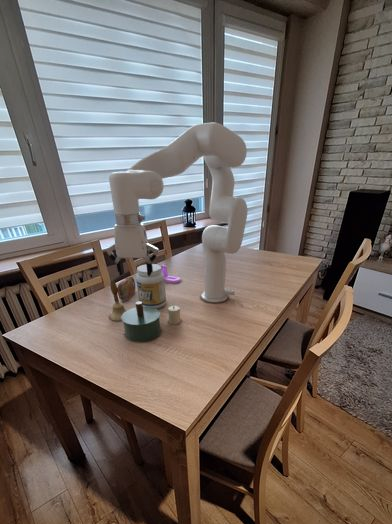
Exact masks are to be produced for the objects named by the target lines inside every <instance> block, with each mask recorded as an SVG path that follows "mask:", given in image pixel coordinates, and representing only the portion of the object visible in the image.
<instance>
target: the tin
mask: <svg viewBox="0 0 392 524" xmlns="http://www.w3.org/2000/svg"><path fill="white" fill-rule="evenodd" d="M117 290H118V292H117V295H118V299H119V300H120V301H126V302H127V301H129V300H130V299H131V298H132V296H133V295H135V292H136V280H135V279H134V277H133V276H127V277H125V278H123V279H122V280H121V281H120V282H119V283H118V285H117Z"/></svg>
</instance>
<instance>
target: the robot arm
mask: <svg viewBox="0 0 392 524" xmlns="http://www.w3.org/2000/svg"><path fill="white" fill-rule="evenodd" d="M247 150H248V149H247V145H246V142H245V141H244V139H243V138H242V137H241V136H240V135H238V134H237V133H235V132H234V131H232V130H231V129H229V128H227V127H226V126H225V125H223V124H221V123H219V122H215V121H213V122H204V123H198V124H197V123H196V124H193V125H192V126H190V127H189V128H187V129H186V130H185V131H184V132H183V133H181V134H179V136H178V137H176V138H175V139H174V140H172V141H171V142H170V143H169V144H167V145H166V146H163V147H161V148H159V149H157V150H156V151H154V152H153V153H151V154H149V155H146V156H144V157H143V158H141V159H140V160H138V161H137V162H136V163H134V164H133V165H132V166H131V167H129V168H128V169H127V170H126V171H113V172H111V173H109V176H108V182H109V188H110V194H111V199H112V206H113V207H112V208H113V212H114V218H115V224H114V229H113V230H114V232H113V233H114V235H113V237H114V244H112V245H111V246H108V247H107V248H106V249H105V251H106V253H107V255H108V256H109V258H110V259H111V260H112V261H114V264H115V265H116V271H117V272H118V273H119V276H123V275H124V273H125V269H124V263H123V261H122V259H144V260H145V262H146V266H147V274H148V276H150V275H151V272H153V268H152V264H153V262H154V260H155V259H156V258H157V256H158V254H159V251H160V249H159V248H158V247H156V246H155V245H153V244H150V243H149V239H148V235H147V230H146V226H145V223H142V222H143V221H146V216H145V215H143V214H141V210H140V203H139V200H155V199H158V198H159V197H161V195H162V194H163V192H164V187H165V185H164V181H163V180H164V179H167V178H172V177H176V176H178V175H182V174H183V173H184V172H185V171H187V170H188V169H189V168H190V167H191V166H192V165H194V164H195V163H196V162H197V161H198V160H199V159H201V158H203V160H204V162H205V164H206V166H207V168H208V170H209V172H210V175H211V179H212V183H211V184H212V185H211V192H210V193H211V195H210V201H209V209H208V214H209V218H210V219H211V220H212V221H214V222H217V223H222V224H227V226H222V225H216V224H211V225H208V226H207V227H205V228H204V229H203V230H202V231H203V232H202V234H201V242H202V247H203V256H204V262H203V263H204V275H203V276H204V277H203V278H204V283H203V284H204V291H203V292H202V293H201V294H200V298H201V299H202V301H204V302H207V303H213V304H215V303H216V304H217V303H223V302H224V301H226V300H228V298H229V296H235V294H236V293H235V292H236V291H235V290H233V289H232V288H226V287H227V286H226V272H227V257H226V254H229V255H230V254H232V255H233V254H236V253H237V252H239V250H240V249H241V247H242V243H243V240H244V235H245V229H246V224H247V218H248V205H247V202H246V200H245V199H244V198H242V197H240V196H234V191H235V190H234V189H235V177H234V172H233V171H232V169H231V168H238V167H240V166H242V165H243V163H244V162H245V161H246V158H247V154H248V153H247V152H248V151H247ZM113 250H115V253H116V254H115V253H114V251H113ZM150 251H151V252H153V253H152V255H150Z"/></svg>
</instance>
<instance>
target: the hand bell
mask: <svg viewBox="0 0 392 524" xmlns="http://www.w3.org/2000/svg"><path fill="white" fill-rule="evenodd" d="M109 283H110V284H109V287H110V291H111V294H112V295H113V299H114V300H113V301H114V303H113V304H112V311H111V314H110V315H109V319H110V320H112V321H115V322H122V320H121V316H122V314H123V313H124V312H126V311H127V309H126V308H125V305H124V303H123V302H120V298H119V296H118V290H117V288H118V285H117V284H116V282H115V280H114V279H110V282H109Z"/></svg>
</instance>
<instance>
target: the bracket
mask: <svg viewBox="0 0 392 524" xmlns="http://www.w3.org/2000/svg"><path fill="white" fill-rule="evenodd" d="M160 266H161V270H162V273H163V274H164V281H165V283H169V284H170V283H171V284H178V283H180V282H181V278H180V277H179V276H173V275H169V274H168V267H167V265H165V264H162V265H160Z"/></svg>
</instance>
